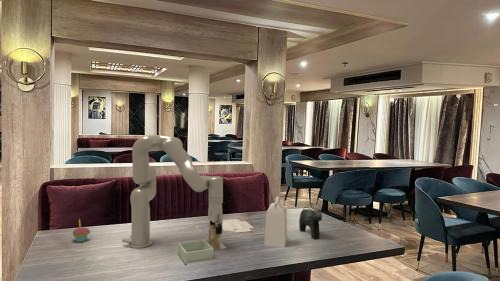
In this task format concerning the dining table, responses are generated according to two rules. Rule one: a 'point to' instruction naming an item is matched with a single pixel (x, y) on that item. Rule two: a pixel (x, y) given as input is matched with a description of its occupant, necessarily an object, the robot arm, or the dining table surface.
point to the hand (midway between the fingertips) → (215, 231)
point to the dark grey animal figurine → (310, 221)
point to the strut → (214, 237)
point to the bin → (195, 255)
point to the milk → (276, 225)
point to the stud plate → (220, 246)
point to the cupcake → (80, 233)
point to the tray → (236, 225)
